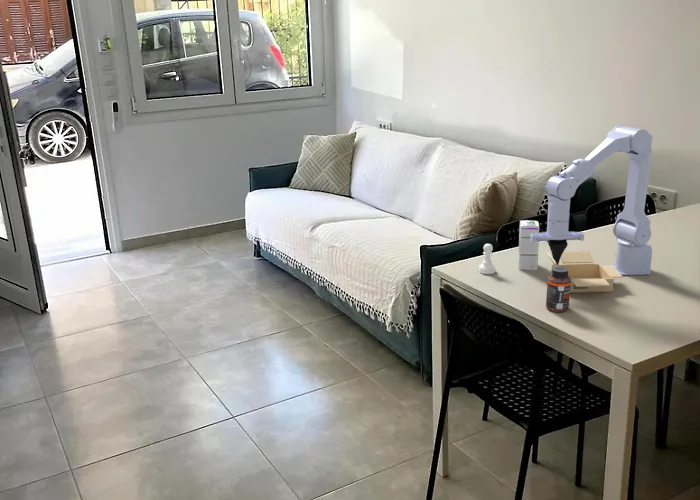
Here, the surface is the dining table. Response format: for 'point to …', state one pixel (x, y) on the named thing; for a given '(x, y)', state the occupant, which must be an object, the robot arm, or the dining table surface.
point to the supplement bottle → (558, 290)
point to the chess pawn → (487, 261)
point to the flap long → (552, 260)
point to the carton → (591, 277)
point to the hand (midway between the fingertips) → (555, 264)
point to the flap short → (576, 257)
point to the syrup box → (528, 245)
